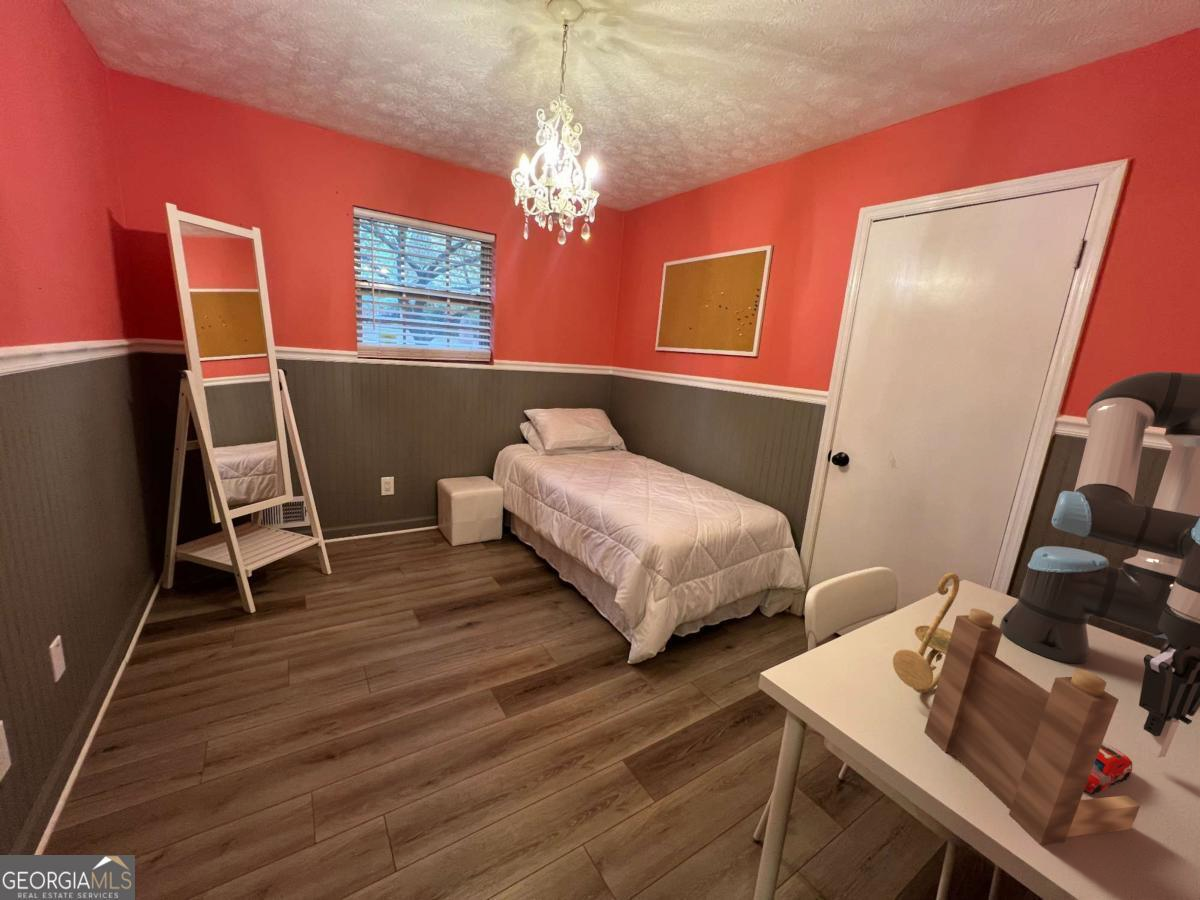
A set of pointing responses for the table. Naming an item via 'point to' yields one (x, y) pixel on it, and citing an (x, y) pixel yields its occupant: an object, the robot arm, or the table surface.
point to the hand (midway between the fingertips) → (1150, 749)
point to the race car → (1108, 769)
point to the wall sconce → (913, 664)
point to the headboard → (1025, 735)
